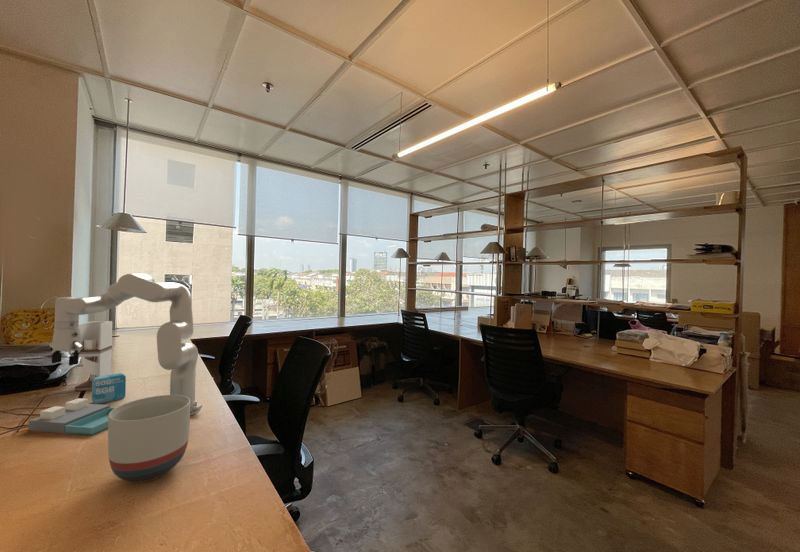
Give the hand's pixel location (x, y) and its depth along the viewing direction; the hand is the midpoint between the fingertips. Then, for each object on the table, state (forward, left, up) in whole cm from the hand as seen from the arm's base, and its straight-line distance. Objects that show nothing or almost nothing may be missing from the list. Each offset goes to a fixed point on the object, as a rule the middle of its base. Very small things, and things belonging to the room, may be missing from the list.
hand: (64, 363), depth 144 cm
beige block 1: (-8, +10, -18) cm, 23 cm away
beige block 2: (-8, +1, -18) cm, 20 cm away
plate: (-11, +6, -22) cm, 26 cm away
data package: (-3, -17, -23) cm, 29 cm away
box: (-26, +6, -22) cm, 35 cm away
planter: (-74, +34, -23) cm, 85 cm away
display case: (+24, -33, -23) cm, 46 cm away
